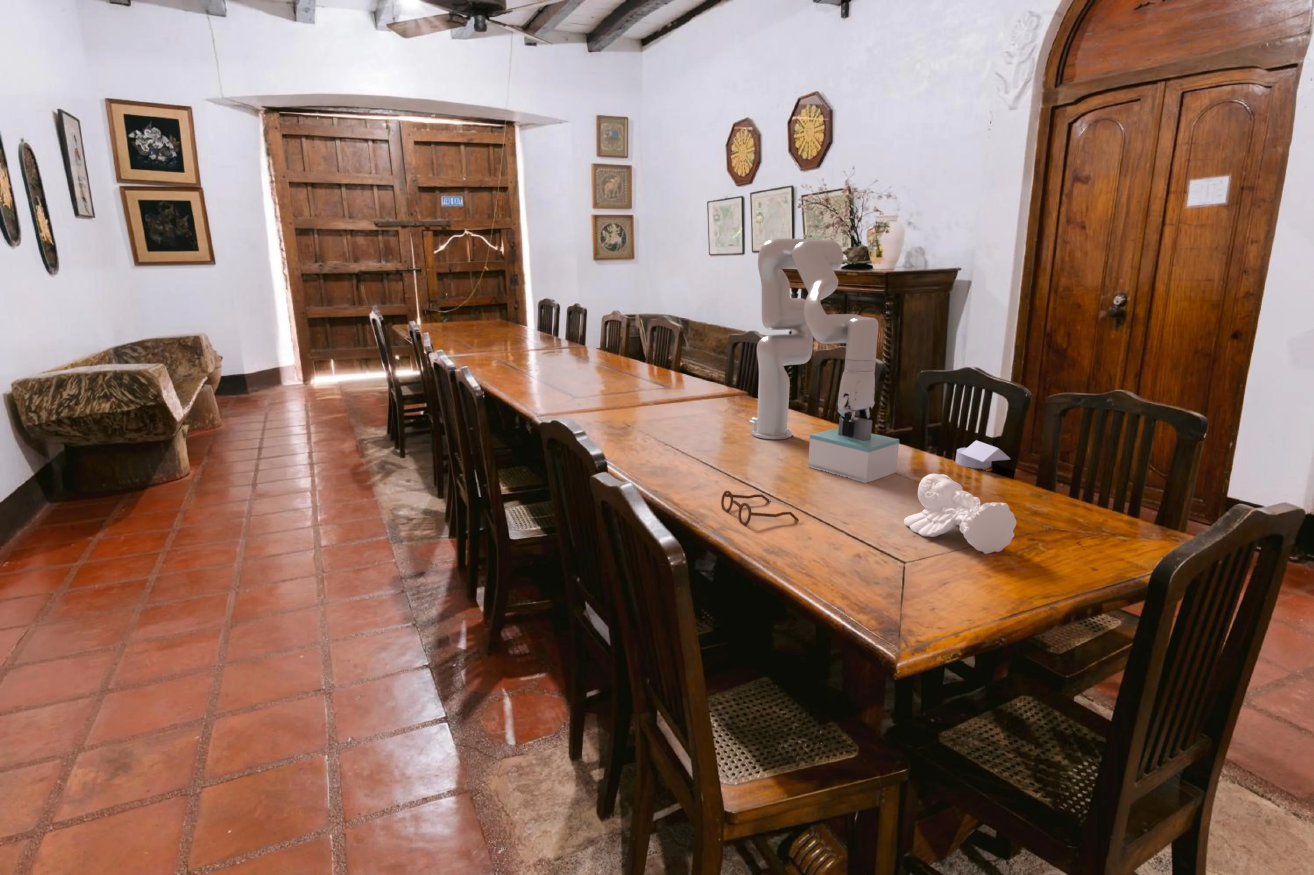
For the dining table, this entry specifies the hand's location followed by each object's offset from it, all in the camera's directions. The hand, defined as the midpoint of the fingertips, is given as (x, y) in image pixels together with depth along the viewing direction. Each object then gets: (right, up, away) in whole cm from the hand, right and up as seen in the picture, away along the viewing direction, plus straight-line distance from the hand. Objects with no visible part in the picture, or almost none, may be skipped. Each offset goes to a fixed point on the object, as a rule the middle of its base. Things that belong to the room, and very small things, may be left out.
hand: (854, 433), depth 187 cm
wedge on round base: (+36, -9, +7) cm, 37 cm away
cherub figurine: (+8, -22, -42) cm, 48 cm away
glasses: (-29, -19, -29) cm, 46 cm away
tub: (0, -10, +3) cm, 10 cm away
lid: (0, -2, 0) cm, 2 cm away
